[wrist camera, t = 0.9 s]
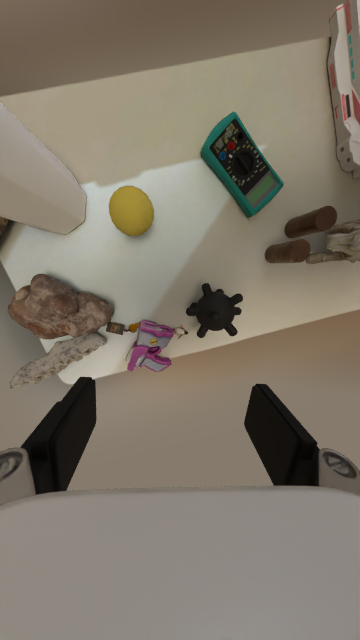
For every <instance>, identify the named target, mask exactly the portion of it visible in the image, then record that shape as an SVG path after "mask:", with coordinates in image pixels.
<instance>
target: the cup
mask: <svg viewBox="0 0 360 640" xmlns="http://www.w3.org/2000/svg"><path fill="white" fill-rule="evenodd" d="M85 206H86V194H85V193H84V191H83V190H82V188H81V187H80V185H79V184H78V182H77V181H76V179H75V178H74V176H73V175H72V173H71V172H70V171H69V170H68V169H67V168H66V167H65V166H64V165H63V164H62V163H61V162H60V161H59V160H58V159H57V158H56V157H55V156H54V155H53V154H52V153H51V152H50V151H49V150H48V149H47V148H46V147H45V146H44V145H43V144H42V143H41V142H40V141H39V140H38V139H37V138H36V137H35V136H34V135H33V134H32V133H31V132H30V131H29V130H28V129H27V128H26V127H25V126H24V125H23V124H22V123H21V122H20V121H19V120H18V119H17V118H16V117H15V116H14V115H13V114H12V113H11V112H10V111H9V110H8V109H7V108H6V107H5V106H4V105H3V104H2V103H1V102H0V217H3V218H7V219H10V220H13V221H16V222H20V223H23V224H26V225H29V226H33V227H36V228H39V229H43V230H47V231H51V232H55V233H60V234H64V235H66V234H68V233H69V232H71V231H72V230H73V229H75V228H76V227H77V226H79V225H80V224H82V223H83V222H84V218H85Z"/></svg>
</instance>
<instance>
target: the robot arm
mask: <svg viewBox="0 0 360 640" xmlns="http://www.w3.org/2000/svg"><path fill="white" fill-rule="evenodd" d="M95 424H96V391H95V380H92V378H91V377H80V378H79V379H78V380H77V381H76V383H75V384H74V385H73V387H72V388H71V389H70V390H69V392H68V393H67V394H66V396H65V397H64V398H63V400H62V401H59V402H57V403H56V404H55V405H54V406H53V407H52V409H51V410H50V411H49V412H48V414H47V415H46V416H45V417H44V419H43V420H42V421H41V423H40V424H39V425H38V426H37V427H36V429H35V430H34V431H33V432H32V434H31V435H30V436H29V437H28V439H27V440H26V441H25V442H24V443H23V445H22V446H21V447H20V448H17V447H15V448H9V449H6V450H4V451H1V452H0V640H360V471H359V470H358V468H357V467H356V466H355V464H353V463H352V462H351V461H350V460H349V459H348V458H346V457H345V456H344V455H342V454H341V453H339V452H337V451H334V450H332V449H328V448H323V449H321V450H320V449H319V448H318V447H317V442H316V441H315V440H314V439H313V437H312V436H311V435H310V434H309V433H308V432H307V430H306V429H305V428H304V427H303V426H302V425H301V424H300V422H299V421H298V420H297V419H296V418H295V417H294V416H293V414H292V413H291V412H290V411H289V410H288V409H287V407H286V406H285V405H284V404H283V403H282V402H281V401H280V399H279V398H278V397H277V396H276V395H275V394H274V393H273V391H272V390H271V389H270V388H269V387H268V386H267V385H266V384H256V385H255V386H253V387H252V391H251V395H250V400H249V404H248V408H247V413H246V417H245V422H244V425H245V428H246V430H247V432H248V434H249V436H250V439H251V441H252V443H253V445H254V446H255V449H256V451H257V453H258V455H259V457H260V459H261V460H262V463H263V464H264V467H265V468H266V471H267V473H268V475H269V476H270V478H271V481H272V483H273V485H274V486H219V487H218V486H215V487H214V486H213V487H162V488H124V489H95V490H75V491H74V490H72V491H66V490H67V488H68V485H69V483H70V481H71V478H72V476H73V474H74V472H75V469H76V467H77V465H78V463H79V460H80V458H81V456H82V454H83V452H84V449H85V447H86V445H87V443H88V440H89V438H90V436H91V433H92V431H93V429H94V427H95Z"/></svg>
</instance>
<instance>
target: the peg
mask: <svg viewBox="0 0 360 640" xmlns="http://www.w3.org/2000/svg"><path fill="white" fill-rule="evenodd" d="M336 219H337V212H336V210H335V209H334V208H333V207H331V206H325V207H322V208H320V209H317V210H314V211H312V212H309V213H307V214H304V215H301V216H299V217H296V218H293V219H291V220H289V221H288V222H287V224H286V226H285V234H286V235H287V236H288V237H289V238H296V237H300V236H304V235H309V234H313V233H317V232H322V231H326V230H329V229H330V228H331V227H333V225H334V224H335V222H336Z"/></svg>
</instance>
